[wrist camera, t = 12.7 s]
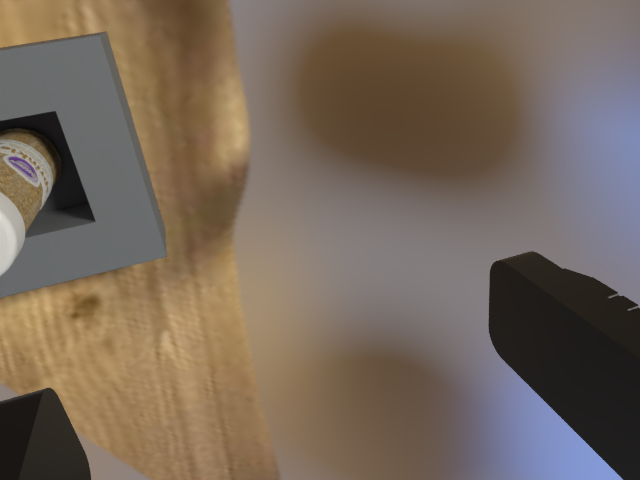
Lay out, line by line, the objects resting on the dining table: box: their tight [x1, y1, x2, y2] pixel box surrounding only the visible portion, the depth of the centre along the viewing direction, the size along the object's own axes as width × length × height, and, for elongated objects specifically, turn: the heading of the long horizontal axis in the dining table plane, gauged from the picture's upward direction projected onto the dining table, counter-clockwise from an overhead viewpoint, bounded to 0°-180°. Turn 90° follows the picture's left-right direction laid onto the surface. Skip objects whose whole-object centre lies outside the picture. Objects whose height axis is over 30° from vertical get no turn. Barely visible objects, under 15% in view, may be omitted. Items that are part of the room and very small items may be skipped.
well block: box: [0, 32, 167, 298], centre depth 32 cm, size 14×14×5 cm
